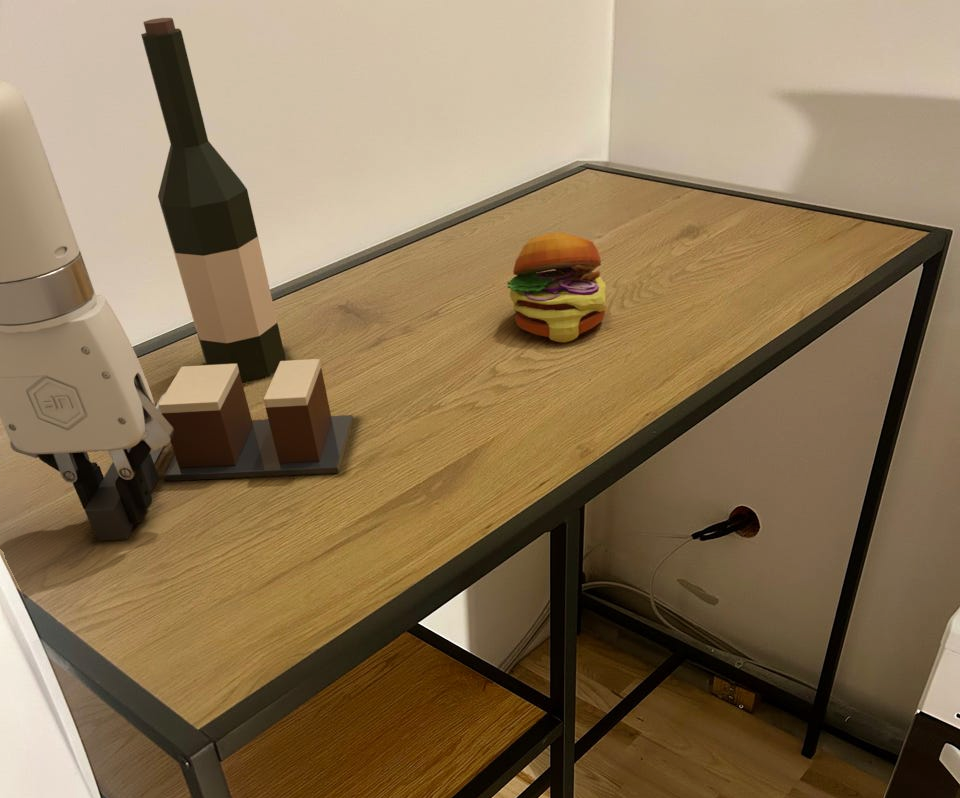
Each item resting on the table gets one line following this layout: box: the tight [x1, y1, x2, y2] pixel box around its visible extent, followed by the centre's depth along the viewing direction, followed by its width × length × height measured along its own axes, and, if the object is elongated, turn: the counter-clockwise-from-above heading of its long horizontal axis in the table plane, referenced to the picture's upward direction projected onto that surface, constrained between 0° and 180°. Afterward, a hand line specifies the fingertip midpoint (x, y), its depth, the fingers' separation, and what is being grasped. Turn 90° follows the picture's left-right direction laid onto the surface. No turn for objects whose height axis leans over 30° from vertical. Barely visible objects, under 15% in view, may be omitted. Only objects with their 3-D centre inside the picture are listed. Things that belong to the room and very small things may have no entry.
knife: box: [84, 393, 165, 542], centre depth 81 cm, size 18×2×3 cm, turn 178°
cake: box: [158, 364, 253, 468], centre depth 82 cm, size 5×7×6 cm
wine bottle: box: [141, 17, 287, 383], centre depth 88 cm, size 8×8×30 cm
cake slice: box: [263, 358, 332, 463], centre depth 82 cm, size 4×7×6 cm, turn 178°
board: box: [164, 414, 355, 482], centre depth 84 cm, size 15×9×1 cm, turn 88°
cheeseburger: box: [506, 232, 607, 344], centre depth 97 cm, size 10×11×10 cm
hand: (122, 512), depth 77 cm, fingers closed on knife, 2 cm apart
